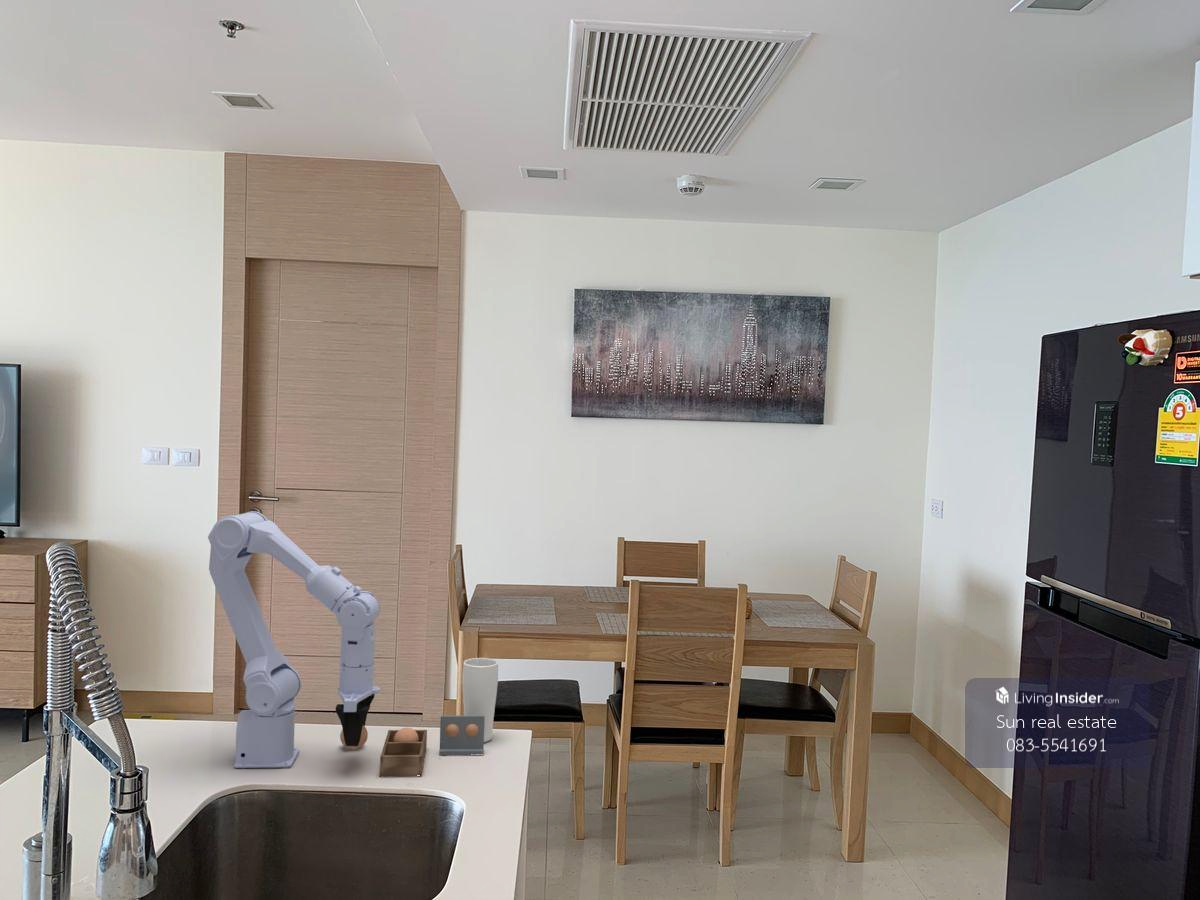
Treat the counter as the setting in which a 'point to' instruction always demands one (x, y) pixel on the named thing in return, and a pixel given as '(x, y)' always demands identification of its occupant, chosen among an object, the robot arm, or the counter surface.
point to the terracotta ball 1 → (362, 739)
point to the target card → (462, 735)
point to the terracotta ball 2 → (406, 735)
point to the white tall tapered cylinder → (480, 690)
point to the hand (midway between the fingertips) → (354, 740)
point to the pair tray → (403, 755)
